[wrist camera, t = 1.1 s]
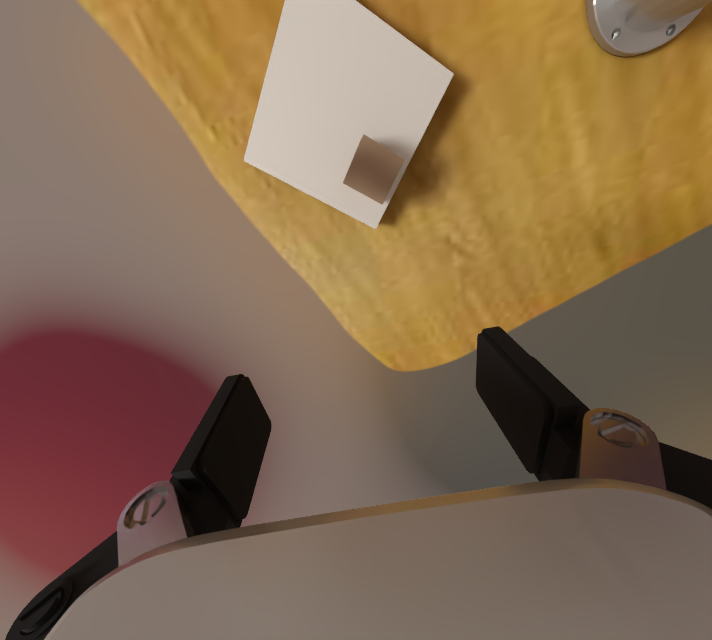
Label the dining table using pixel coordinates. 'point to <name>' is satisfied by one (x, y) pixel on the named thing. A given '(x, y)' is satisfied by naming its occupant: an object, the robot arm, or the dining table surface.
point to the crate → (373, 169)
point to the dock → (340, 100)
